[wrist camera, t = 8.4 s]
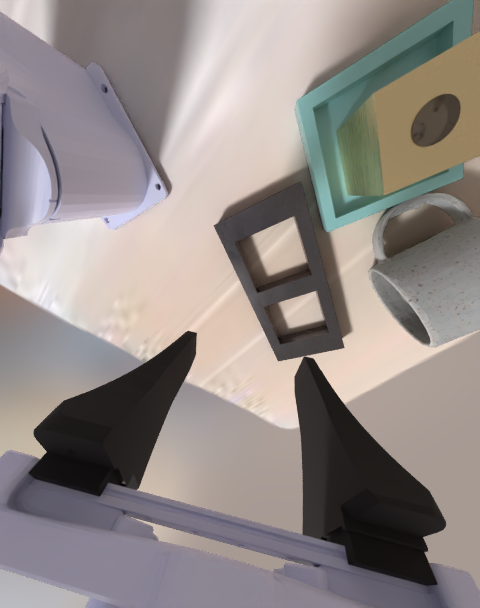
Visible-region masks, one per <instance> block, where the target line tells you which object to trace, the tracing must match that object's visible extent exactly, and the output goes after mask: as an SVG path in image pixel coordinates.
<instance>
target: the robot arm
mask: <svg viewBox="0 0 480 608" xmlns="http://www.w3.org/2000/svg"><path fill="white" fill-rule="evenodd" d="M106 87H107V89H108V92H107V93H105V88H106ZM158 184H160V186H161V189H160V190H159V189H158ZM167 197H168V191H167V189H166V187H165V185H164V183H163V181H162V179H161V177H160V176H159V174H158V172H157V170H156V168H155V166H154V164H153V162H152V161H151V159H150V157H149V155H148V153H147V151H146V149H145V147H144V146H143V144H142V142H141V140H140V138H139V136H138V134H137V133H136V131H135V129H134V127H133V125H132V123H131V121H130V119H129V118H128V116H127V114H126V112H125V110H124V108H123V106H122V105H121V103H120V101H119V99H118V97H117V95H116V93H115V91H114V90H113V88H112V86H111V84H110V82H109V80H108V78H107V77H106V75H105V73H104V71H103V69H102V68H101V67H100V66H99V65H98V64H96V63H95V62H92V63H90V64H89V65H88V66H87V68H86V69H84V68H83V67H81V66H80V65H78V64H77V63H76V62H74V61H73V60H71V59H70V58H68V57H67V56H65V55H64V54H62V53H61V52H59V51H58V50H56V49H55V48H53V47H52V46H50V45H49V44H48V43H46V42H45V41H43V40H42V39H40V38H39V37H37V36H36V35H34V34H33V33H31V32H30V31H28V30H27V29H25V28H24V27H22V26H21V25H20V24H18V23H17V22H15V21H14V20H12V19H11V18H9V17H8V16H6V15H5V14H3V13H2V12H0V254H1V253H2V251H3V247H4V242H3V239H8V238H14V237H20V236H26V235H27V233H28V230H29V229H30V228H31V227H32V226H35V225H41V224H49V223H57V222H65V221H73V220H81V219H89V218H98V217H101V219H102V220H103V221H104V223H105V224H106V226H107V227H108V228H109V229H110V230H115V229H117V228H119V227H120V226H122V225H124V224H125V223H127V222H128V221H130V220H132V219H133V218H135V217H137V216H138V215H140V214H141V213H143V212H145V211H146V210H148V209H149V208H151V207H153V206H154V205H156V204H157V203H159V202H161V201H162V200H164V199H166V198H167ZM107 218H108V219H109V221H108V220H107ZM196 337H197V333H195V332H191V331H187V332H185V333H184V334H183V335H182V336H181V337H180V338H178V339H177V340H176V341H175V342H174V343H172V344H171V345H170V346H168V347H167V348H166V349H165V350H163V351H162V352H160V353H159V354H158V355H156V356H155V357H153V358H152V359H150V360H149V361H147V362H146V363H144V364H143V365H141V366H139V367H138V368H136V369H134V370H132V371H131V372H129V373H127V374H125V375H123V376H121V377H120V378H117V379H115V380H113V381H111V382H109V383H107V384H105V385H102V386H100V387H98V388H96V389H93V390H91V391H89V392H86V393H83V394H80V395H78V396H75V397H73V398H70V399H67V400H64V401H63V402H62V403H61V404H60V405H59V406H58V407H57V408H55V409H54V411H52V412H51V413H50V415H48V416H47V417H46V418H45V419H44V420H43V422H41V423H40V424H39V425H38V426H37V428H35V429H34V437H35V438H36V440H37V441H38V442H39V443H40V444H41V445H42V446H43V448H44V449H45V450H46V451H47V453H46V454H45V455H44V456H43V457H42V458H41V459H39V458H37V457H34V456H32V455H28V454H24V453H20V452H17V451H13V450H9V451H7V452H6V453H5V454H4V455H3V456H1V457H0V569H3V570H6V571H10V572H13V573H16V574H19V575H22V576H25V577H28V578H31V579H34V580H38V581H41V582H44V583H47V584H50V585H53V586H56V587H59V588H63V589H66V590H69V591H72V592H75V593H79V594H81V595H85V596H88V597H90V598H89V601H88V603H87V605H86V607H85V608H480V591H479V589H478V587H477V585H476V583H475V581H474V580H473V577H472V576H471V574H470V573H468V572H467V571H463V570H460V569H456V568H452V567H449V566H445V565H441V564H435V563H429V562H428V560H427V558H426V555H425V553H424V552H427V551H428V548H427V545H426V543H425V541H424V539H423V537H424V536H427V535H430V534H434V533H437V532H439V531H442V530H443V529H444V528H445V527H446V521H445V519H444V517H443V516H442V513H441V512H440V510H439V508H438V506H437V504H436V502H435V501H434V498H433V497H432V495H431V493H430V491H429V490H428V489H427V488H425V487H424V486H423V485H422V484H421V483H420V482H419V481H417V480H416V479H415V478H414V477H413V476H412V475H411V474H410V473H409V472H407V471H406V470H405V469H404V468H403V467H402V466H401V465H400V464H399V463H397V461H396V460H395V459H393V458H392V457H391V456H390V455H389V454H388V453H387V452H386V451H385V450H384V449H383V448H382V447H381V446H380V445H379V444H378V443H377V442H376V441H375V440H374V439H373V437H371V435H370V434H369V433H368V432H367V431H366V430H365V429H364V428H363V427H362V425H361V424H360V423H359V422H358V421H357V420H356V418H355V417H354V416H353V415H352V414H351V412H350V411H349V410H348V409H347V407H346V406H345V405H344V403H343V402H342V401H341V399H340V398H339V397H338V395H337V394H336V392H335V391H334V390H333V388H332V387H331V385H330V384H329V382H328V381H327V379H326V378H325V376H324V374H323V373H322V371H321V370H320V368H319V366H318V365H317V363H316V362H315V360H314V359H313V358H309V357H304V358H303V360H302V362H301V364H300V366H299V368H298V371H297V373H296V375H295V397H296V404H297V411H298V418H299V425H300V432H301V445H302V469H303V535H302V534H298V533H294V532H290V531H287V530H283V529H279V528H275V527H272V526H268V525H264V524H261V523H257V522H253V521H249V520H246V519H242V518H238V517H234V516H231V515H226V514H223V513H219V512H216V511H212V510H208V509H205V508H201V507H197V506H194V505H190V504H186V503H182V502H179V501H175V500H171V499H167V498H163V497H160V496H156V495H152V494H149V493H145V492H141V491H137V489H138V488H139V486H140V483H141V480H142V478H143V475H144V472H145V469H146V467H147V464H148V461H149V459H150V456H151V453H152V451H153V448H154V446H155V443H156V441H157V438H158V436H159V433H160V431H161V428H162V425H163V423H164V421H165V418H166V416H167V414H168V411H169V409H170V407H171V404H172V402H173V400H174V398H175V396H176V394H177V393H178V391H179V389H180V387H181V385H182V383H183V381H184V380H185V378H186V376H187V374H188V372H189V370H190V368H191V366H192V363H193V361H194V358H195V355H196ZM125 515H126V516H125ZM128 516H129V517H128ZM131 517H133V518H137V519H140V520H144V521H148V522H151V523H155V524H158V525H162V526H166V527H169V528H173V529H176V530H180V531H184V532H187V533H191V534H194V535H198V536H202V537H205V538H209V539H213V540H216V541H220V542H223V543H227V544H231V545H235V546H238V547H242V548H245V549H249V550H252V551H256V552H260V553H263V554H267V555H271V556H274V557H278V558H281V559H285V560H289V561H293V562H296V563H299V564H303V565H299V564H291V563H285V565H284V568H282V569H274V571H273V572H271V571H268V570H266V569H263V568H260V567H256V566H254V565H250V564H247V563H244V562H241V561H238V560H234V559H231V558H227V557H223V556H220V555H217V554H213V553H209V552H205V551H200V550H197V549H193V548H188V547H184V546H180V545H175V544H171V543H166V542H161V541H158V537H157V536H156V535H154V534H153V527H152V526H150V525H147V524H145V523H143V522H140V521H138V520H136V519H133V518H131ZM306 565H307V566H306Z"/></svg>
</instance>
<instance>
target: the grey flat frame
mask: <svg viewBox="0 0 480 608" xmlns="http://www.w3.org/2000/svg"><path fill="white" fill-rule="evenodd" d="M293 216H294V220H295V223H296V226H297V230H298V233H299V237H300V240H301V243H302V247H303V250H304V253H305V257H306V260H307V264H308V267H309V270H307V271H304V272H301V273H298V274H295V275H292V276H290V277H287V278H284V279H281V280H278V281H275V282H272V283H269V284H266V285H264V286H261V287H258V286H257V283H256V281H255V279H254V277H253V274H252V272H251V270H250V267H249V265H248V263H247V261H246V258H245V256H244V254H243V251H242V249H241V247H240V245H239V242H238V241H239V240H242V239H244V238H246V237H248V236H250V235H253V234H255V233H257V232H259V231H262V230H264V229H266V228H268V227H270V226H273V225H275V224H277V223H279V222H282V221H284V220H286V219H288V218H290V217H293ZM214 227H215V229H216V231H217V233H218V236H219V238H220V240H221V242H222V244H223V246H224V248H225V250H226V252H227V254H228V257H229V259H230V261H231V263H232V265H233V267H234V269H235V271H236V273H237V276H238V278H239V280H240V282H241V284H242V286H243V288H244V290H245V292H246V294H247V297H248V299H249V301H250V303H251V305H252V307H253V309H254V311H255V313H256V315H257V318H258V320H259V322H260V324H261V326H262V328H263V330H264V332H265V334H266V336H267V339H268V341H269V343H270V345H271V347H272V349H273V351H274V353H275V355H276V357H277V360H278V361H282V360H287V359H292V358H297V357H302V356H307V355H312V354H317V353H322V352H327V351H332V350H337V349H342V348H344V344H343V340H342V337H341V333H340V329H339V325H338V321H337V317H336V314H335V310H334V306H333V302H332V298H331V294H330V291H329V287H328V283H327V279H326V275H325V271H324V268H323V264H322V260H321V256H320V252H319V248H318V245H317V241H316V237H315V233H314V229H313V225H312V222H311V218H310V214H309V210H308V206H307V202H306V199H305V195H304V191H303V187H302V183H301V182H299V183H297V184H295V185H293V186H291V187H289V188H287V189H285V190H283V191H281V192H279V193H277V194H275V195H273V196H271V197H269V198H267V199H265V200H263V201H261V202H259V203H257V204H255V205H253V206H251V207H249V208H247V209H245V210H243V211H241V212H239V213H237V214H235V215H233V216H231V217H229V218H227V219H225V220H223V221H221V222H220V223H218V224H216V225H214ZM313 291H316V294H317V297H318V301H319V304H320V307H321V311H322V314H323V318H324V321H325V324H326V325H325V326H321V327H317V328H313V329H309V330H305V331H301V332H297V333H293V334H289V335H285V336H281V337H280V336H279V334H278V331H277V329H276V327H275V325H274V322H273V320H272V318H271V315H270V313H269V311H268V309H267V306H268V305H271V304H275V303H278V302H281V301H284V300H287V299H291V298H294V297H297V296H300V295H304V294H307V293H310V292H313Z"/></svg>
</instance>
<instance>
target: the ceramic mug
mask: <svg viewBox="0 0 480 608" xmlns="http://www.w3.org/2000/svg"><path fill="white" fill-rule="evenodd" d="M423 204H430V205H435V206H438V207H440V208H441V209H442V210H444V211H445V212H446V213H447V214H448V215H449V216H451V218H452V219H453V221H454V222H455V226H452V227H450V228H448V229H446V230H444V231H442V232H440V233H438V234H437V235H434V236H432V237H430V238H429V239H427V240H425V241H423V242H421V243H419V244H417V245H415V246H413V247H411V248H408V249H406V250H404V251H402V252H400V253H398V254H396V255H394V256H392V257H390V258H387V256H386V254H385V251H384V246H383V233H384V230H385V227H386V225H387V223H388V220H389V219H391V218H393V217H395V216H397V215H399V214H401V213H403V212H405V211H408V210H410V209H417V208H419V207H420V206H422V205H423ZM372 244H373V250H374V253H375V257H376V259H377V261H378V264H376V265H375V266H373V267H372V268H370V270H369V279H370V281H371V283H372V286H373V288H374V290H375V292H376V294H377V296H378V297H379V298H380V300H381V302H382V303H383V304H384V306H385V307H386V309H387V310H388V311H389V313H390V314H391V315H392V317H393V318H394V319H395V320H396V321H397V322H398V323H399V324H400V325H401V326H402V327H403V328H404V330H406V331H407V332H408V333H409V334H410V335H411V336H412V337H413V338H415V339H416V340H417V341H419V342H420V343H421V344H423V345H425V346H428V347H437V346H439V345H442V344H444V343H447V342H449V341H452V340H454V339H457V338H459V337H462V336H464V335H467V334H469V333H472V332H475V331H477V330H480V217H474V216H473V214H472V211H471V210H470V209H469V207H468V206H467V205H466V204H465V203H464V202H463V201H462V200H460V199H458V198H456V197H454V196H452V195H450V194H447V193H425V194H422V195H420V196H417V197H415V198H412V199H410V200H407V201H405V202H402V203H400V204H397V205H395V206H394V207H393V208H391V209H390V210H389V211H388V212H387V213H386V214H385V215H384V216H383V217H382V218H381V219H380V220H379V222H378V223H377V225H376V227H375V230H374V233H373V239H372Z"/></svg>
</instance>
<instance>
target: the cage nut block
mask: <svg viewBox="0 0 480 608" xmlns="http://www.w3.org/2000/svg"><path fill="white" fill-rule="evenodd" d="M336 134H337V140H338V145H339V151H340V157H341V163H342V168H343V174H344V180H345V186H346V191H347V196H385V195H387V194H389V193H392V192H394V191H396V190H399V189H401V188H404V187H406V186H408V185H411V184H413V183H416V182H418V181H420V180H423V179H425V178H427V177H430V176H432V175H435V174H437V173H439V172H442V171H444V170H446V169H449V168H451V167H454V166H456V165H458V164H461V163H463V162H466V161H468V160H470V159H473V158H475V157H477V156H480V31H479V32H477V33H476V34H474V35H472V36H470V37H469V38H467V39H465V40H464V41H462V42H460V43H458V44H457V45H455V46H453V47H452V48H450V49H448V50H446V51H445V52H443V53H441V54H440V55H438V56H436V57H434V58H433V59H431V60H429V61H428V62H426V63H424V64H422V65H421V66H419V67H417V68H416V69H414V70H412V71H411V72H409V73H407V74H405V75H404V76H402V77H400V78H399V79H397V80H395V81H393V82H392V83H390V84H388V85H387V86H385V87H383V88H381V89H380V90H378V91H376V92H375V93H373V94H372V95H371V96H370V97H369V98H368V100H367V101H366V102H365V103H364V104H363V105H362V106H361V107H360V108H359V109H358V110H357V111H356V112H355V113H354V114H353V115H352V116H351V117H350V118H349V119H348V120H347V121H346V122H345V123H344V124H343V125H342V126H341V127H340V128H339V129H338V130H337V131H336Z"/></svg>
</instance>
